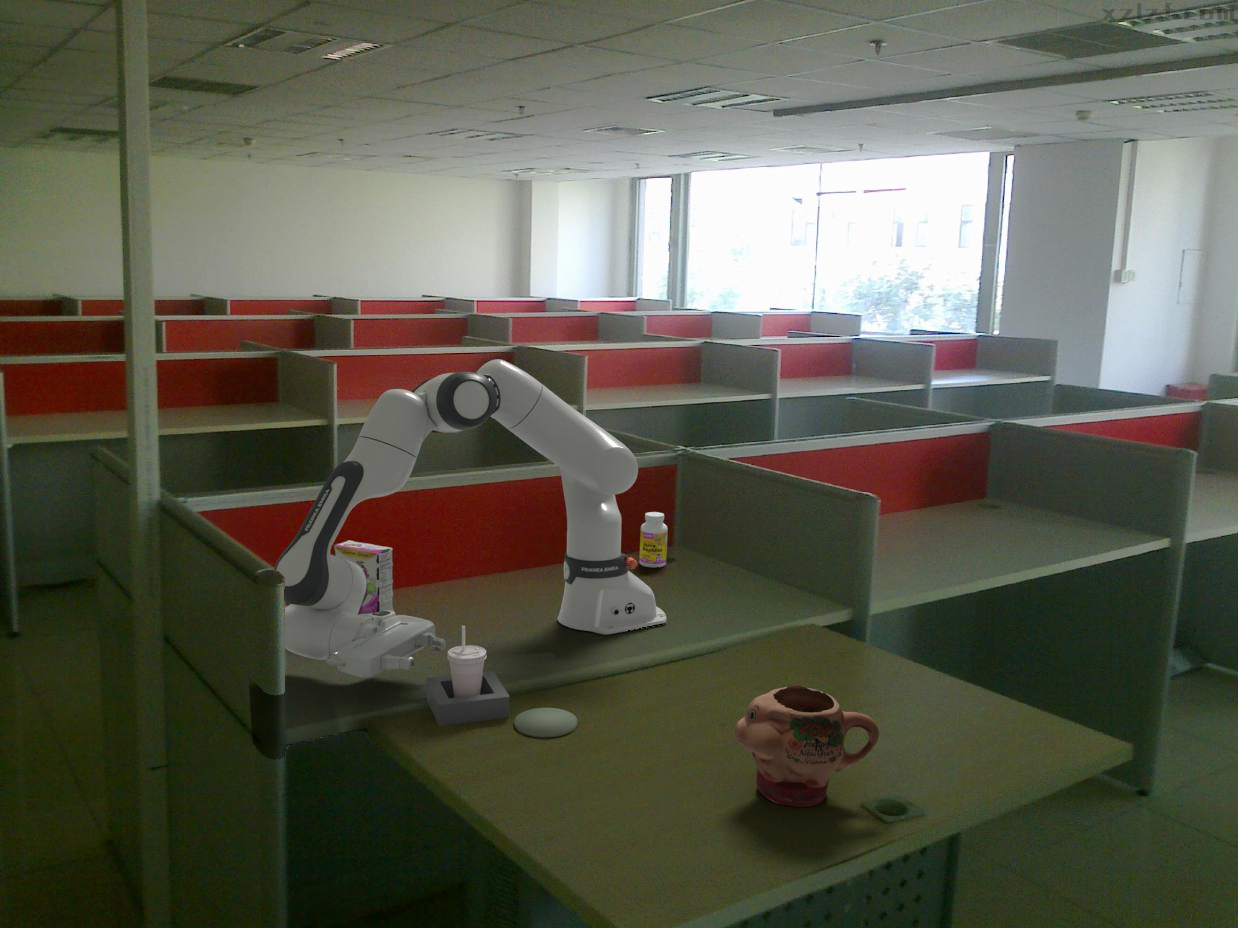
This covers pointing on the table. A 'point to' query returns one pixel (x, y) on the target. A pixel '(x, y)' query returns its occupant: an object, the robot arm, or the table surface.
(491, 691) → the socket collar
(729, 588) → the table surface
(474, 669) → the smoothie
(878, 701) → the table surface
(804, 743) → the cartoon character mug
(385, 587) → the candy bar box
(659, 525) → the supplement bottle
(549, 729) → the rubber pad
